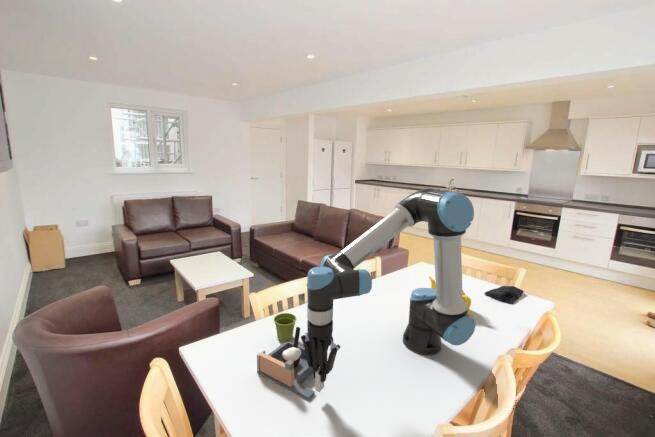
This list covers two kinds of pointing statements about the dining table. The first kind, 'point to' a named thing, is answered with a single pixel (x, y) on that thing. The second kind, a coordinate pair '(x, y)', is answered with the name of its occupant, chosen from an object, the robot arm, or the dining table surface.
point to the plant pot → (285, 326)
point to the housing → (300, 370)
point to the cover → (277, 369)
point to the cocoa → (293, 350)
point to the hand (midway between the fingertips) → (319, 388)
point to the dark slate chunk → (505, 294)
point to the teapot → (462, 295)
